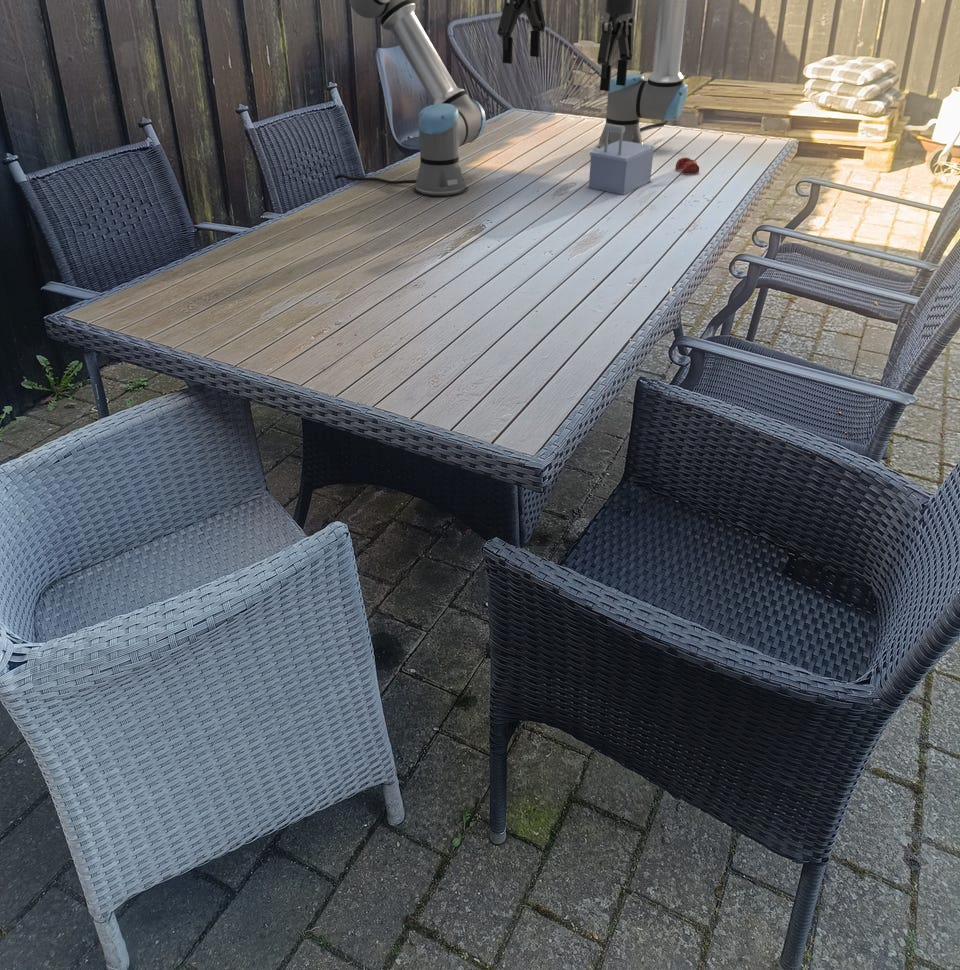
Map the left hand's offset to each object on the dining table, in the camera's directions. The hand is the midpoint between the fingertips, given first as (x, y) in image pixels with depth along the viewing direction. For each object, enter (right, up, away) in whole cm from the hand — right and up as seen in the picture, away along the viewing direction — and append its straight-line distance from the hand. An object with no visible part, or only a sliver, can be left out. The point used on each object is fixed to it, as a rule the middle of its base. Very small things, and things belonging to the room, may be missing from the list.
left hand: (521, 59), depth 240 cm
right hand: (+26, -8, 0) cm, 27 cm away
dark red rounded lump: (+56, -19, +35) cm, 68 cm away
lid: (+32, -19, +17) cm, 41 cm away
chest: (+32, -27, +23) cm, 48 cm away
